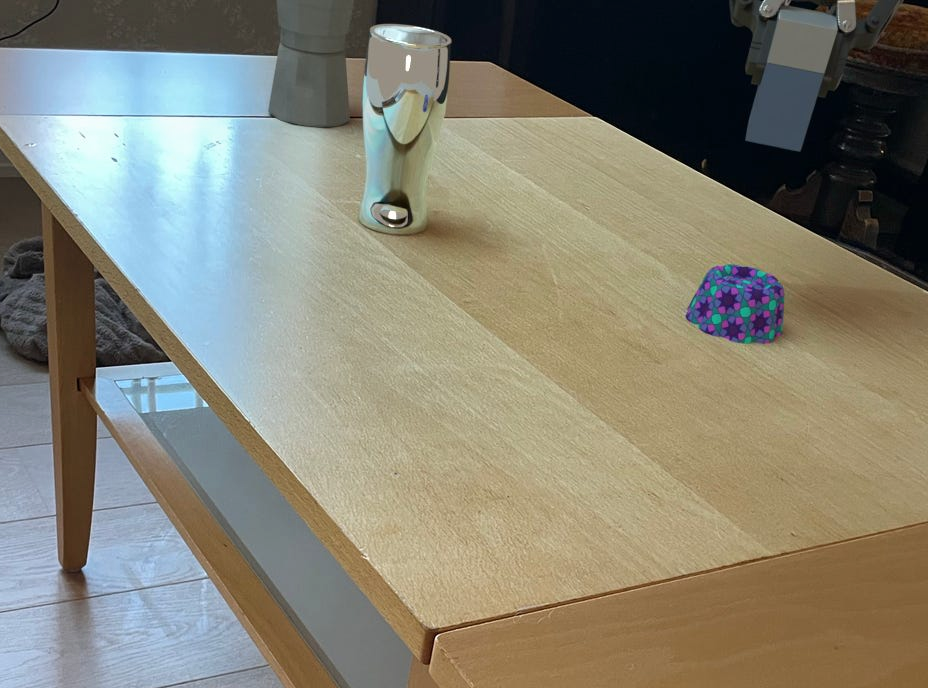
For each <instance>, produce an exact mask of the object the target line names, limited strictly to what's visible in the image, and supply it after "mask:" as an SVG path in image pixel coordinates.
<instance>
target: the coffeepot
mask: <svg viewBox="0 0 928 688" xmlns="http://www.w3.org/2000/svg"><path fill="white" fill-rule="evenodd" d="M354 4H355V0H276V10H277V21H278V22H277V23H278V26H279V27H280V36H279V37H280V39H279V40H280V42H279V45H278V50H277V57H276V63H275V68H274V74H273V79H272V86H271V92H270V97H269V103H268V110H267V112H268V113H269V114H270V115H271V116H272V117H274V118H276V119H278V120H280V121H283V122H286V123H290V124H292V125H298V126H306V127H313V128H314V127H315V128H331V127H338V126H343V125H345V124H347V123H349V122H350V121H351V116H350V115H351V113H350V100H349V99H350V98H349V84H348V71H347V57H346V55H347V54H346V39H347V35H348V34H349V32H350V31H349V30H350V26H351V22H352V21H351V20H352V15H353V9H354Z"/></svg>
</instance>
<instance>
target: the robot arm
mask: <svg viewBox="0 0 928 688" xmlns="http://www.w3.org/2000/svg"><path fill="white" fill-rule="evenodd" d="M792 1H794V2H799V3H800V2H811V3H813V4H816V5H818V6H821V7H825V9H826V11H825V13H829V14H831V15H834V16H836V20H837V28H838V31H837V34H836V37H835V41H834V44H833V47H832V50H831V54H830V57H829V60H828V63H827V67H826V70H825V73H824V76H823V80H822V83H821V86H820V89H819V93H818V96H817V97H819V98H826V96H827V94H828V92H829V91H832V92H835V90H836V89H837V88H838V87H839V85H840V83H841V80H842V79H843V76H844V73H845V69H846V65H847V61H848V57H849V53H850V51H851V50H852V49H854V48H859V49H860V50H862V51H868V50H871V49H872V48H873V47H874V46H875V44H876V43H877V41H878V40H879V38H880V37H881V36H882V34H883V32H884V31H885V29H886V28H887V26H888V25H889V23H890V22H891V20H892V19H893V17H894V15H895V14H896V13H897V11H898V9H899V8H900V7H901V5H902V4H903V2H904V1H905V0H877V1H876V2H875V4H874V6H873V7H872V9H871V10H870V12H869V13H868V14H867V16H866V17H862V18H857V11H856V0H763V1H762V0H729V1H728V2H729V3H728V4H729V12H730V22H731V23H732V25H733V26H735V27H739V28H740V27H741V28H742V27H746V28H748V29H749V30H750V31H751V33H752V39H751V43H750V47H749V51H748V54H747V58H746V61H745V66H744V67H745V68H744V70H745V74H746V75H749V76H752V77H751V82H750V84H751V85H756V86H758V85H760V84H761V80H762V77H763V74H764V70H765V67H766V63H767V59H768V55H769V51H770V47H771V43H772V40H773V36H774V32H775V28H776V24H777V17H778V13H779V9H780V7H781V5H782V6H785V5H787V6H790V3H791V2H792Z"/></svg>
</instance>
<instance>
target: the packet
mask: <svg viewBox="0 0 928 688" xmlns="http://www.w3.org/2000/svg"><path fill="white" fill-rule="evenodd" d="M837 31H838V28H837V20H836V16H834V15H831V14H829V13H827V12H825V11H817V10H812V9H807V8H803V7H798V6H792V5H788V6H787V5H785V6H782V5H781V7H780V9H779V13H778V17H777V24H776V28H775V32H774V36H773V40H772V43H771V47H770V51H769V55H768V59H767V63H766V67H765V70H764V74H763V77H762V80H761V84H760V85H757V89H756V91H755V96H754V100H753V103H752V107H751V111H750V114H749V119H748V123H747V127H746V134H745V141H746V142H750V143H755V144H760V145H765V146H770V147H774V148H780V149H784V150H789V151H795V152H801V151H802V148H803V145H804V142H805V139H806V135H807V132H808V128H809V125H810V122H811V118H812V115H813V112H814V109H815V106H816V102H817V99H818V97H819V96H818V93H819V89H820V86H821V83H822V80H823V76H824V73H825V70H826V67H827V63H828V60H829V57H830V54H831V50H832V47H833V44H834V41H835V37H836V34H837Z"/></svg>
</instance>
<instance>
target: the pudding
mask: <svg viewBox="0 0 928 688" xmlns="http://www.w3.org/2000/svg"><path fill="white" fill-rule="evenodd" d="M785 298H786V294H785V289H784V286H783V285H782V284H781V282H779V280H778V278H777V277H775V275H772V274H770V273H767V272H763V271H762V270H760V269H759V268H756V267H752V266H741V265H739V264H731V263H728V264H725V265H716V266H713V267H712V268H710V269H709V270H708V271H707V272H706V274H705V275H704V277H703V278H702V280H701V282H700V285H699V286H698V288H697V290H696V292H695V294H694V295H693V298H692V299H691V301H690V303H689V304H688V306H687V308H686V310H687V312H686V314H685V319H686V321H687V322H689V323H691V324H692V325H695V326H698V330H699V331H701V332H703V333H704V334H706V335H709V336H712V337H718V338H724V339H726V340H728V341H729V342H733V343H737V344H745V345H746V344H750V343H758V344H762V345H764V344H771V343H773V342H775V338H777V337H781V336H782V335H783V331H784V330H783V329H784V316H785V315H784V314H785V313H784V311H785Z"/></svg>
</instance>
